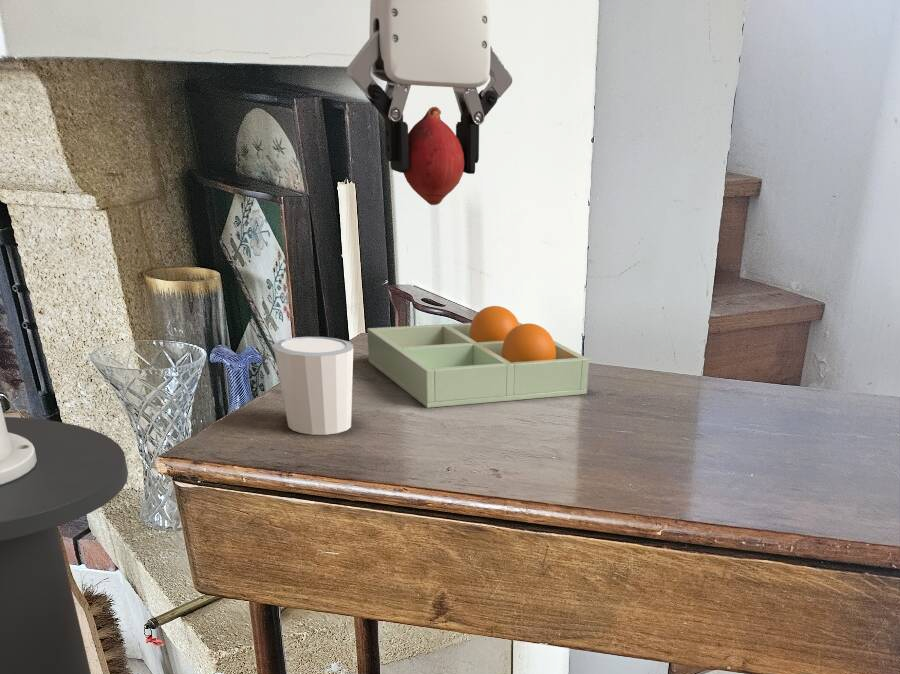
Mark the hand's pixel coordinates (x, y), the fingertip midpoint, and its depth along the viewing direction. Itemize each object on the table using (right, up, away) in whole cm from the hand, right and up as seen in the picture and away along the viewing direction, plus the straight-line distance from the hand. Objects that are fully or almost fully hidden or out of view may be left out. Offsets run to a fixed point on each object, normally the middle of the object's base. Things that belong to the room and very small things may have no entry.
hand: (432, 169), depth 97 cm
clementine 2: (+9, -16, +11) cm, 21 cm away
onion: (0, -3, +2) cm, 3 cm away
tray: (+3, -15, +13) cm, 20 cm away
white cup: (-10, -25, -3) cm, 27 cm away
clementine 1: (+5, -11, +17) cm, 21 cm away
